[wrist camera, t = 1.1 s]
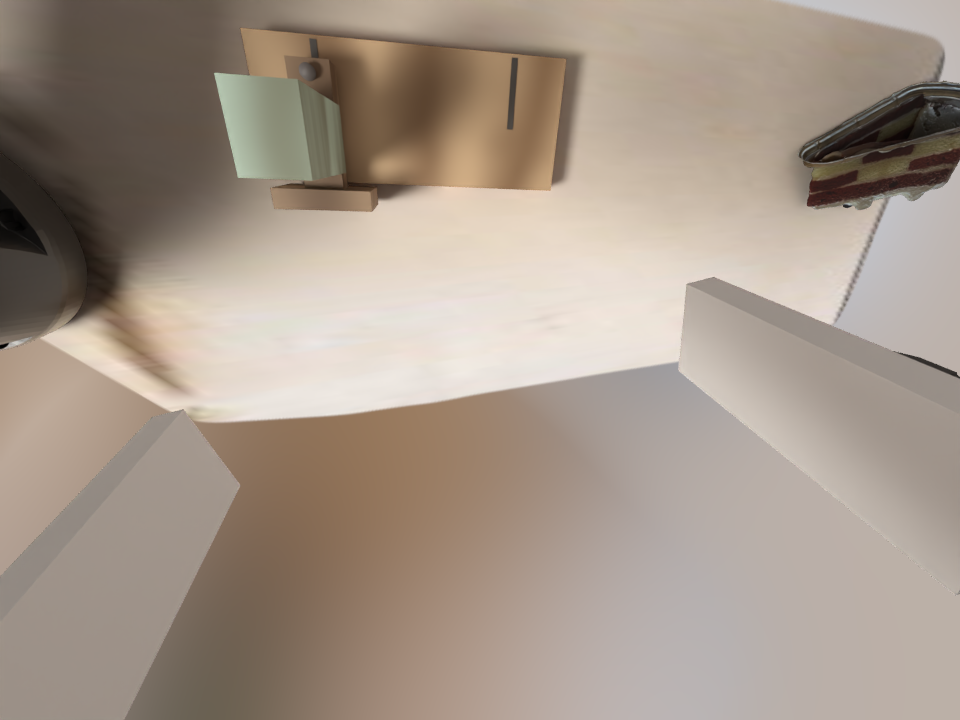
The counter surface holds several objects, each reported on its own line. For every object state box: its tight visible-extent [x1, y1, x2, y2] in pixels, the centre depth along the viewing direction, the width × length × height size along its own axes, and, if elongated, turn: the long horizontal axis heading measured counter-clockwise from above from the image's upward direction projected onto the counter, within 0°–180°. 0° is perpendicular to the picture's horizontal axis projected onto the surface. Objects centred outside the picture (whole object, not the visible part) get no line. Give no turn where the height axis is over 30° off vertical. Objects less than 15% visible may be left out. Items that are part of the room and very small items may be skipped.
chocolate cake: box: [798, 81, 960, 210], centre depth 32 cm, size 10×7×12 cm
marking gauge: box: [214, 55, 378, 212], centre depth 21 cm, size 6×8×12 cm
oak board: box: [240, 28, 566, 191], centre depth 26 cm, size 20×8×2 cm, turn 87°
